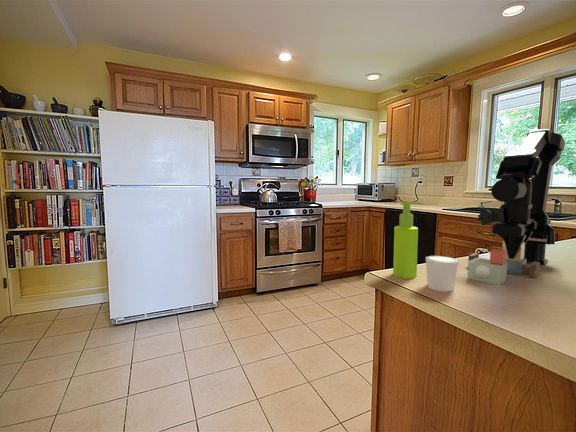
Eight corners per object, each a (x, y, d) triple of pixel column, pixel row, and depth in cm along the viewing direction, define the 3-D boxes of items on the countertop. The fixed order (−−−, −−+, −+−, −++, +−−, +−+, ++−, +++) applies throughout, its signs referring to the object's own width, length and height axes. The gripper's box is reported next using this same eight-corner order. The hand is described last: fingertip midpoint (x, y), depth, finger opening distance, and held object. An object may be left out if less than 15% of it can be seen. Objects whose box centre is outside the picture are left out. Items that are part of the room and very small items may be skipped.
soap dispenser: (423, 279, 74) (425, 202, 73) (395, 277, 76) (397, 202, 74) (417, 272, 80) (420, 201, 78) (391, 271, 82) (393, 201, 80)
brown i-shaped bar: (468, 266, 86) (468, 255, 86) (473, 263, 89) (474, 252, 89) (535, 278, 74) (536, 265, 74) (538, 274, 77) (539, 262, 77)
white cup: (430, 280, 73) (431, 253, 73) (461, 287, 68) (462, 258, 68) (420, 287, 68) (421, 258, 68) (452, 294, 64) (453, 263, 63)
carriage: (498, 270, 80) (500, 241, 79) (503, 267, 83) (505, 239, 82) (521, 274, 76) (523, 244, 75) (525, 270, 79) (527, 242, 79)
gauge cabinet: (475, 273, 79) (476, 257, 78) (506, 279, 73) (507, 262, 73) (467, 278, 75) (468, 261, 74) (498, 285, 69) (499, 266, 69)
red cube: (492, 260, 74) (493, 249, 74) (505, 262, 72) (506, 250, 72) (489, 262, 72) (490, 250, 72) (502, 264, 70) (503, 252, 70)
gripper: (492, 198, 90) (489, 247, 91) (471, 201, 78) (468, 257, 79) (539, 199, 81) (535, 253, 83) (523, 202, 69) (518, 265, 71)
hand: (513, 257), depth 79 cm, fingers closed on carriage, 4 cm apart
